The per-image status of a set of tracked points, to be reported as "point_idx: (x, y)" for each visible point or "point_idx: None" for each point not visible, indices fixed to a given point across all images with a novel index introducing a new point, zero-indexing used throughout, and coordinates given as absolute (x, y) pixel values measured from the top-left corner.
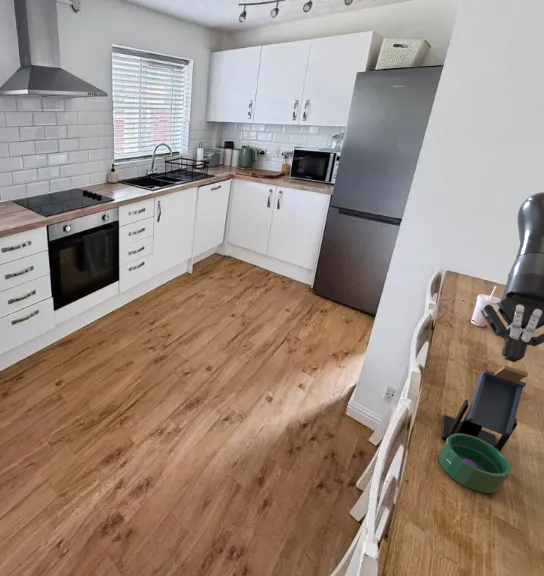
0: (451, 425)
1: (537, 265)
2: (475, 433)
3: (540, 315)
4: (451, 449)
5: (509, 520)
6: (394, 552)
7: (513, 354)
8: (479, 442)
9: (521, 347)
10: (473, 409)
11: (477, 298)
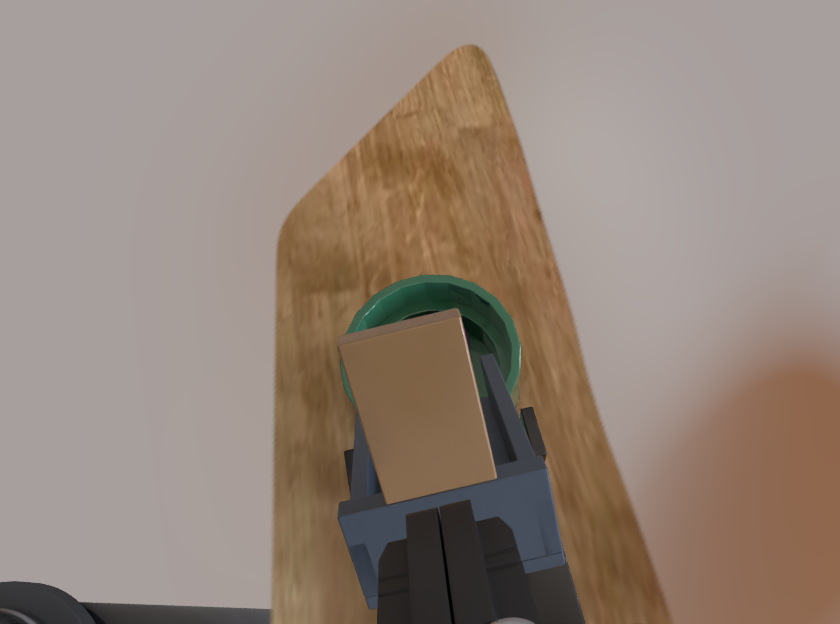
0: (544, 582)
1: None
2: None
3: None
4: (493, 297)
5: (328, 302)
6: (483, 52)
7: (446, 520)
8: None
9: (412, 587)
10: (497, 372)
11: None
